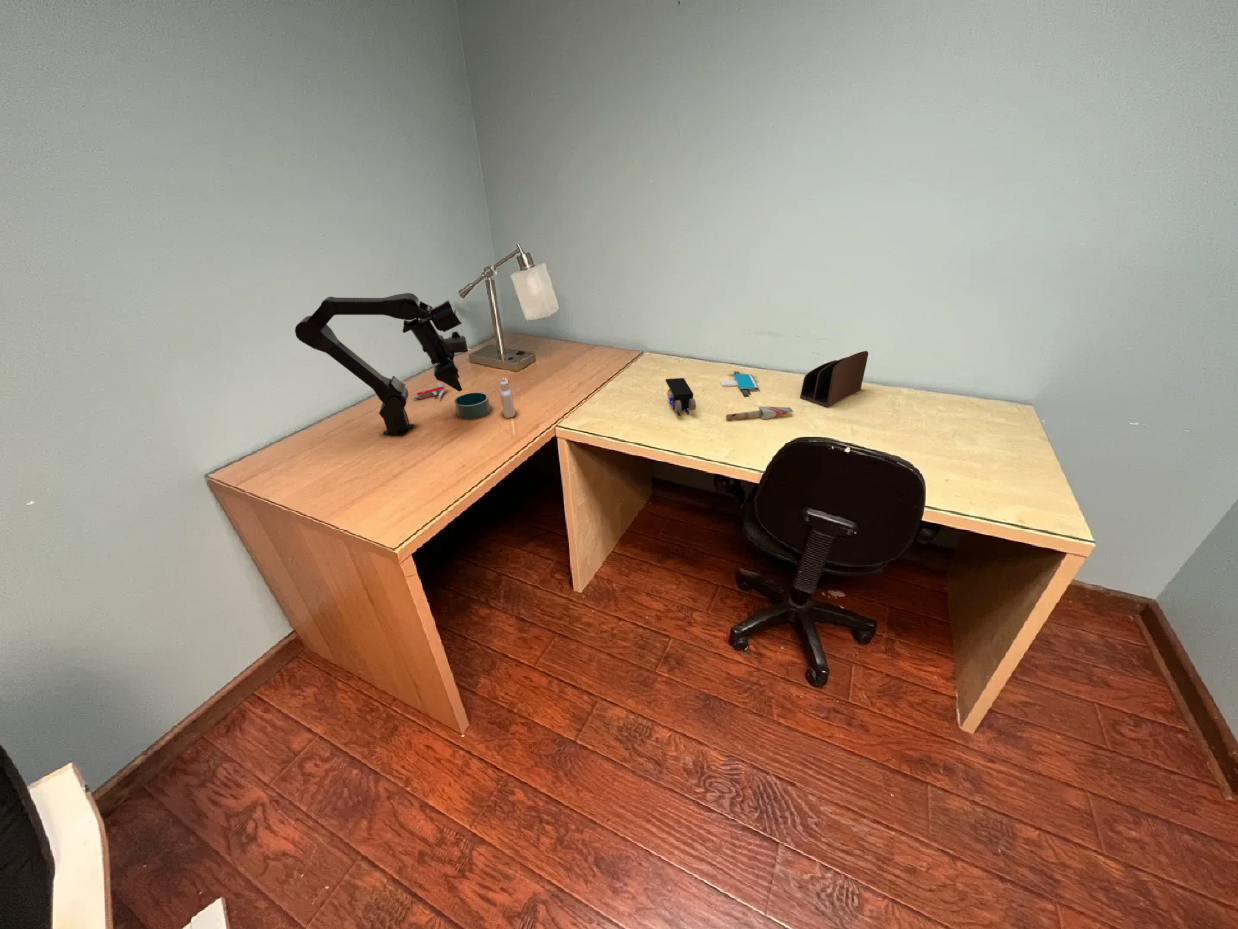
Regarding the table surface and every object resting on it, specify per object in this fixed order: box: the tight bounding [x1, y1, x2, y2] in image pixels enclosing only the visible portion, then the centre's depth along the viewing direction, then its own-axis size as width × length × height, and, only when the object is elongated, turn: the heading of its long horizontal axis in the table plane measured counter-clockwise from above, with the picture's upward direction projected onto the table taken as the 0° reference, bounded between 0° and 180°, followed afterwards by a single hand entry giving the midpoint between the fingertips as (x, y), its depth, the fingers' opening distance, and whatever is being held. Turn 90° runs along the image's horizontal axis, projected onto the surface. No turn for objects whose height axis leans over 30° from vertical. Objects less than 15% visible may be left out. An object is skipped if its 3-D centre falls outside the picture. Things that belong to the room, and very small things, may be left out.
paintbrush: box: [725, 405, 794, 422], centre depth 146 cm, size 4×3×20 cm
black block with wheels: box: [665, 377, 697, 417], centre depth 152 cm, size 7×8×15 cm
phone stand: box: [719, 370, 761, 398], centre depth 167 cm, size 20×12×2 cm, turn 178°
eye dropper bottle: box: [499, 377, 516, 419], centre depth 151 cm, size 4×6×12 cm
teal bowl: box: [454, 391, 491, 420], centre depth 155 cm, size 10×10×4 cm
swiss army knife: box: [411, 382, 446, 400], centre depth 167 cm, size 12×14×2 cm
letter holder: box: [799, 350, 869, 408], centre depth 155 cm, size 10×20×14 cm, turn 130°
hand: (459, 384), depth 146 cm, fingers open, 9 cm apart
